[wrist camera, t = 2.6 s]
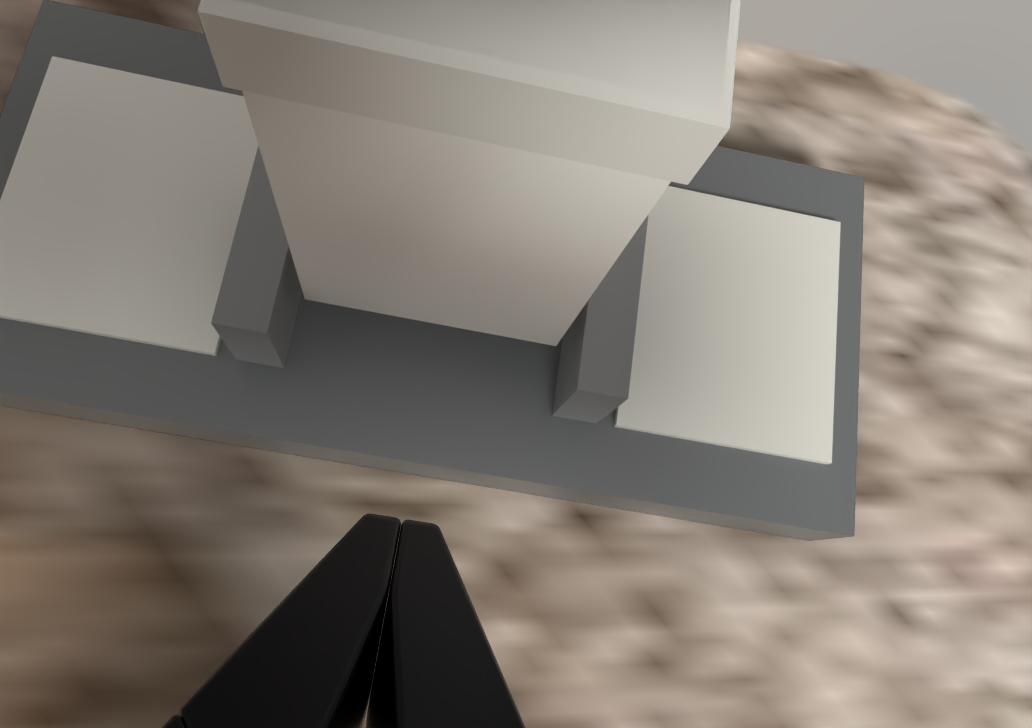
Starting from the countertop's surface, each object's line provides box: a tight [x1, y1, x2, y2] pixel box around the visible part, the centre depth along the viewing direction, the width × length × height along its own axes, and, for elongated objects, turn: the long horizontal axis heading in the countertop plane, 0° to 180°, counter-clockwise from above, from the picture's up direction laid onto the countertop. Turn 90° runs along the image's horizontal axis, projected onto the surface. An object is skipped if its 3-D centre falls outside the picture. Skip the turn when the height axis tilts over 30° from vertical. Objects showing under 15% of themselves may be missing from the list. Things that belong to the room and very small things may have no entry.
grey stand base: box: [0, 0, 864, 541], centre depth 18 cm, size 9×20×4 cm, turn 82°
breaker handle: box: [197, 0, 740, 346], centre depth 12 cm, size 2×5×8 cm, turn 81°
